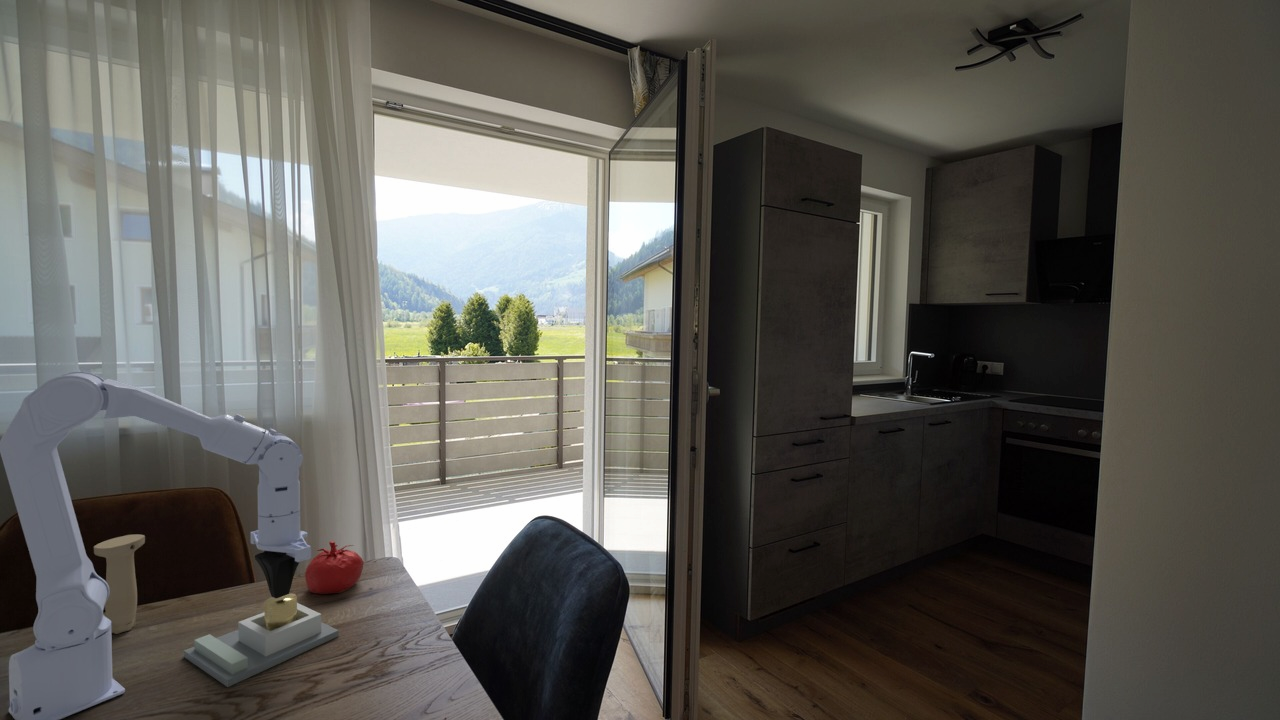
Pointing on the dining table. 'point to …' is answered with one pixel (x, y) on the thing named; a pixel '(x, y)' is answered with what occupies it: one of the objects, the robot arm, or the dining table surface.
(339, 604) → the dining table surface
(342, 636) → the dining table surface
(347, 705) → the dining table surface
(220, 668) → the jig
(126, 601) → the handle
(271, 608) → the brass cylinder
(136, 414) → the robot arm
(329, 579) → the red tomato
